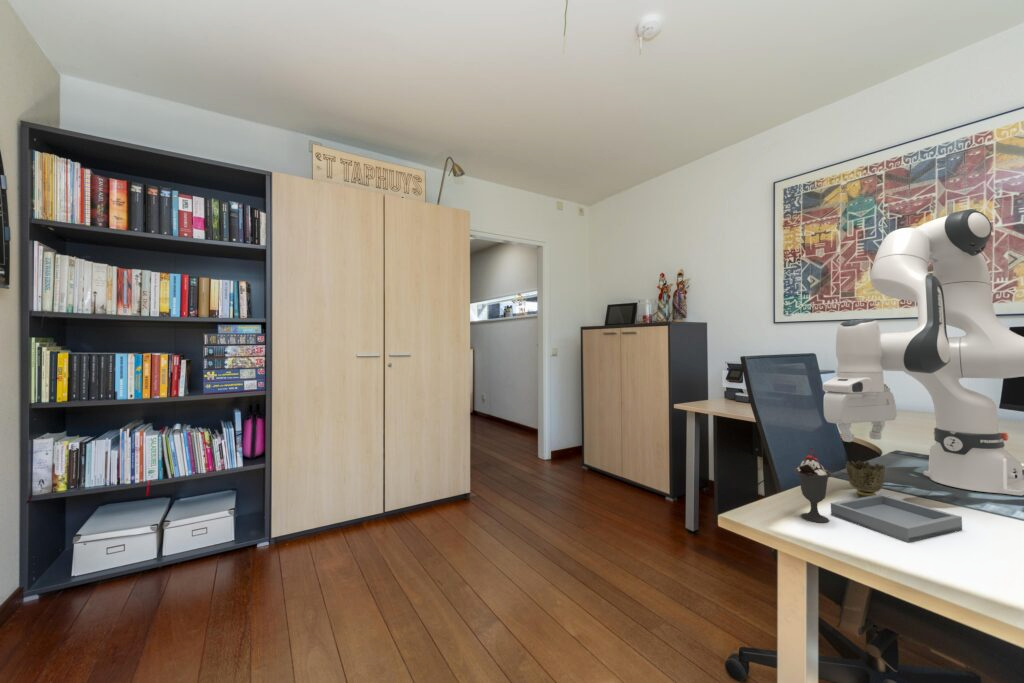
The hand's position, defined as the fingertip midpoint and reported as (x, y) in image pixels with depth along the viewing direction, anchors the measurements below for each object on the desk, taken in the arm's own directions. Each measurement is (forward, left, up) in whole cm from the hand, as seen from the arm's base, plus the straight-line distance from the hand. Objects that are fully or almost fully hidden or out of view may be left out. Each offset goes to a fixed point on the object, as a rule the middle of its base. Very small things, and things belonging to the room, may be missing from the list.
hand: (862, 440), depth 101 cm
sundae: (+24, +5, -14) cm, 28 cm away
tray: (+11, +12, -14) cm, 21 cm away
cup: (0, 0, -14) cm, 14 cm away
